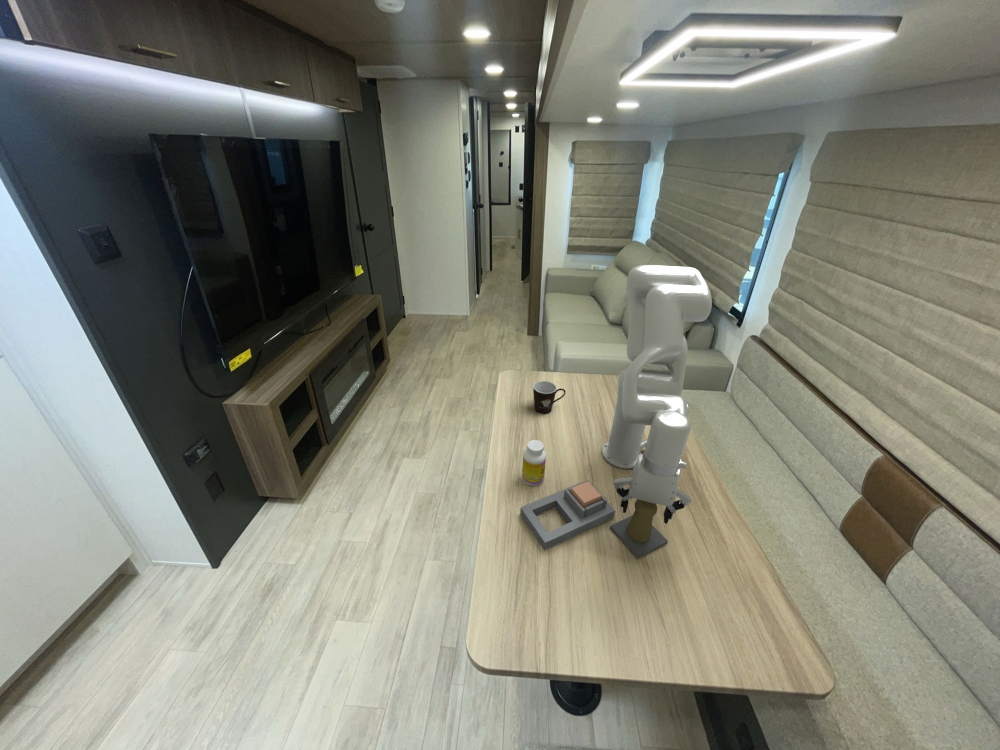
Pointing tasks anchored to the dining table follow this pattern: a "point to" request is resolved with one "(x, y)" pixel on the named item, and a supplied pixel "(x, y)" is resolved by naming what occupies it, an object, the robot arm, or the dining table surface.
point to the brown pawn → (642, 521)
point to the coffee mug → (545, 396)
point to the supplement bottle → (533, 463)
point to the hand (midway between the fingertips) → (644, 513)
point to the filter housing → (565, 516)
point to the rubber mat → (634, 546)
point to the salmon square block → (586, 494)
